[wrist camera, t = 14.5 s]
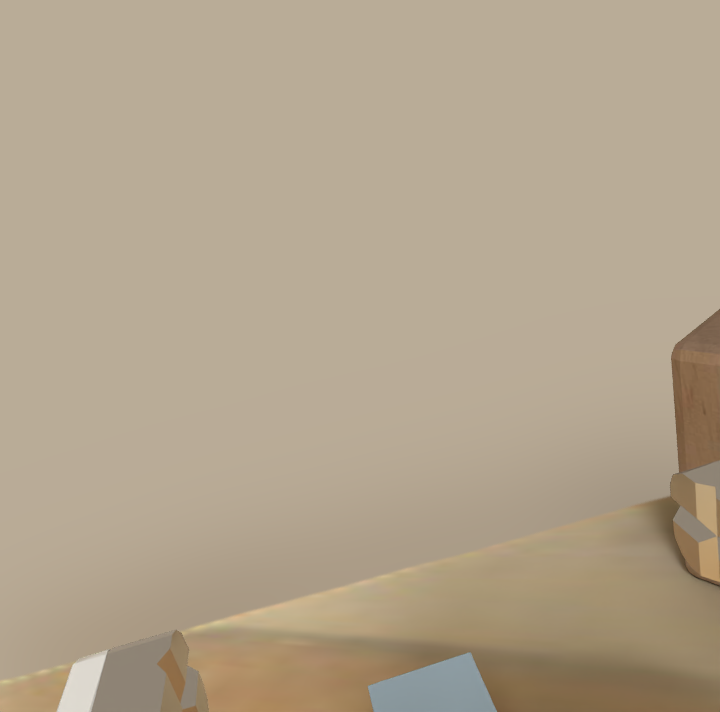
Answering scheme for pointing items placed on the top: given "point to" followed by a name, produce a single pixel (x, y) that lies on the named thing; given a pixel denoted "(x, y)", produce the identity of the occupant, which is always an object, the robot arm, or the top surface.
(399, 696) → the post
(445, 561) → the top surface
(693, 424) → the block
